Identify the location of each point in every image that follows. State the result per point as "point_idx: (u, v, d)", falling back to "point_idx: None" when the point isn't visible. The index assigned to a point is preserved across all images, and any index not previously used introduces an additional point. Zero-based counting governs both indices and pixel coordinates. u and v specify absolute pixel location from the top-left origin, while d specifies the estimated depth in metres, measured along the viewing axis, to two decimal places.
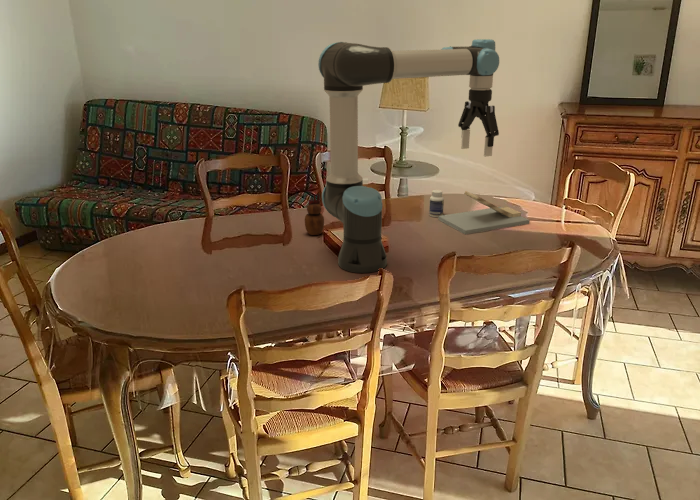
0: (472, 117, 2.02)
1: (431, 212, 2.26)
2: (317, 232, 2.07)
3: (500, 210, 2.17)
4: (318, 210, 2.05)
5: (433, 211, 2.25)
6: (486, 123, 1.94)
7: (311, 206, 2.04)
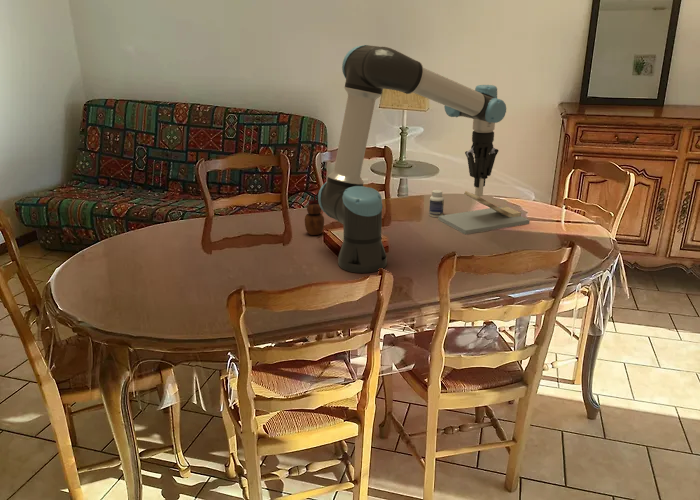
0: (482, 159, 2.11)
1: (431, 212, 2.26)
2: (317, 232, 2.07)
3: (500, 210, 2.17)
4: (318, 210, 2.05)
5: (433, 211, 2.25)
6: (475, 165, 2.11)
7: (311, 206, 2.04)
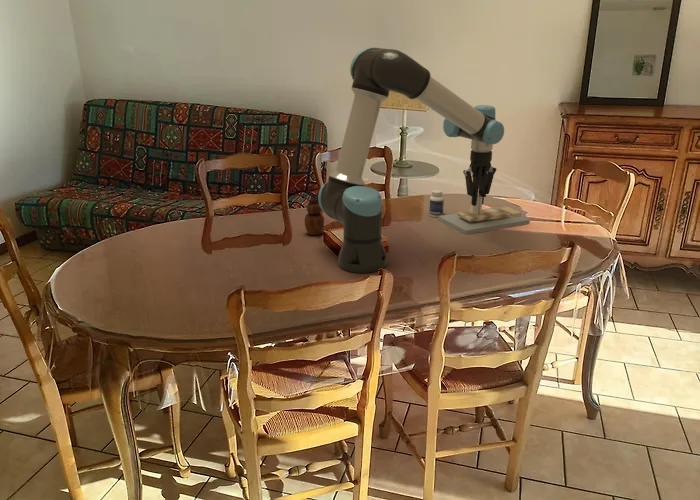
0: (481, 178, 2.14)
1: (431, 212, 2.26)
2: (317, 232, 2.07)
3: (497, 217, 2.18)
4: (318, 210, 2.05)
5: (433, 211, 2.25)
6: (473, 184, 2.14)
7: (311, 206, 2.04)
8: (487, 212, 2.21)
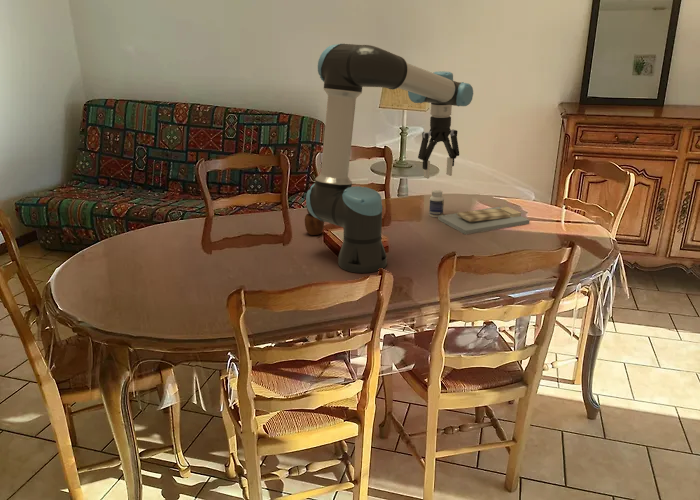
0: (445, 143, 2.19)
1: (431, 212, 2.26)
2: (317, 232, 2.07)
3: (497, 217, 2.18)
4: None
5: (433, 211, 2.25)
6: (427, 147, 2.17)
7: None
8: (487, 212, 2.21)
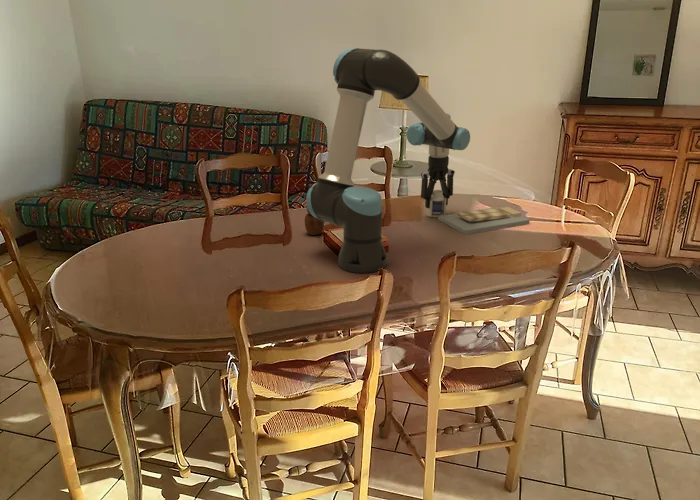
0: (441, 182, 2.24)
1: None
2: (317, 232, 2.07)
3: (497, 217, 2.18)
4: None
5: (433, 211, 2.25)
6: (428, 187, 2.23)
7: None
8: (487, 212, 2.21)
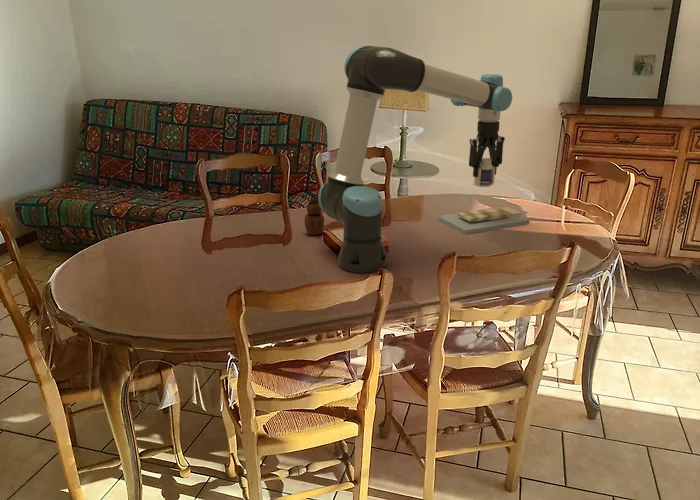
0: (490, 149, 2.11)
1: None
2: (317, 232, 2.07)
3: (497, 217, 2.18)
4: (318, 210, 2.05)
5: (481, 180, 2.12)
6: (477, 154, 2.10)
7: (311, 206, 2.04)
8: (487, 212, 2.21)
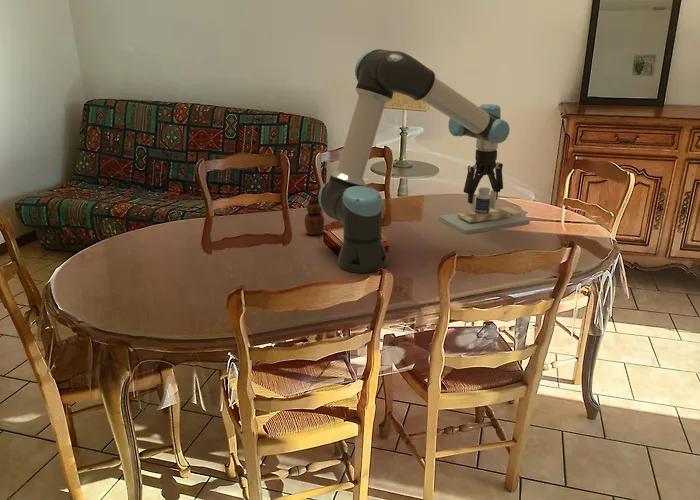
0: (489, 176, 2.15)
1: (477, 210, 2.17)
2: (317, 232, 2.07)
3: (497, 217, 2.18)
4: (318, 210, 2.05)
5: (479, 209, 2.16)
6: (473, 181, 2.13)
7: (311, 206, 2.04)
8: None
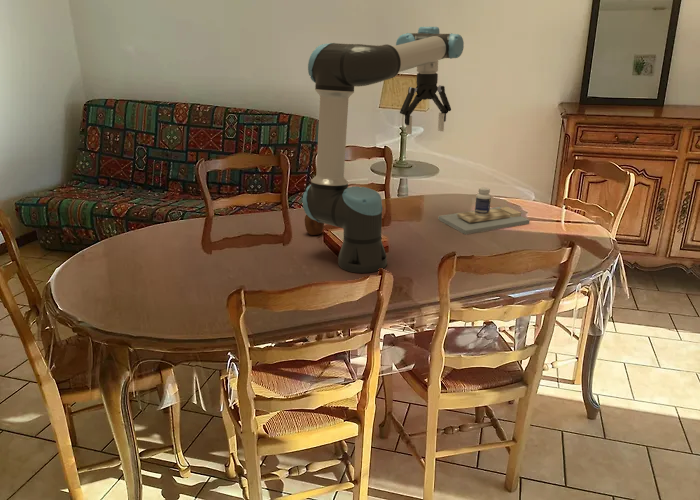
0: (434, 100, 2.16)
1: (477, 210, 2.17)
2: (317, 232, 2.07)
3: (497, 217, 2.18)
4: None
5: (479, 209, 2.16)
6: (411, 103, 2.13)
7: None
8: None
